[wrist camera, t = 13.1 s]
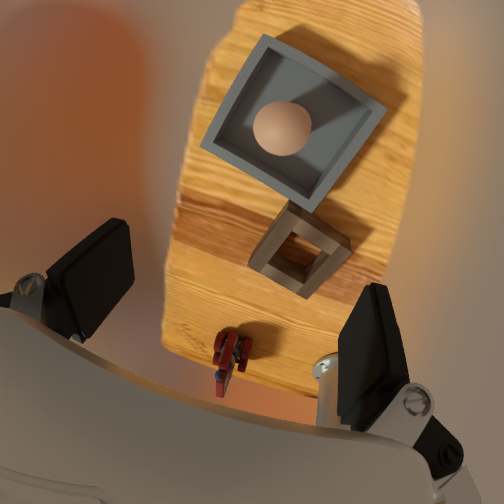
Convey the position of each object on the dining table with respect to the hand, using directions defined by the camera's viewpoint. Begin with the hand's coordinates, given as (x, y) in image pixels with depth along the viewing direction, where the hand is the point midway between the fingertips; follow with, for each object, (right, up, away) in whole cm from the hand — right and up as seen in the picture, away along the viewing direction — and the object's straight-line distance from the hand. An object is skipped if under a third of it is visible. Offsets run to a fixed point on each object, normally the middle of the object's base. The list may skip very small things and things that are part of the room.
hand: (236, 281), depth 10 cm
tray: (+5, +17, +19) cm, 26 cm away
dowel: (+5, +16, +18) cm, 25 cm away
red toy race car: (-3, -18, +44) cm, 47 cm away
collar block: (+7, +2, +28) cm, 29 cm away
